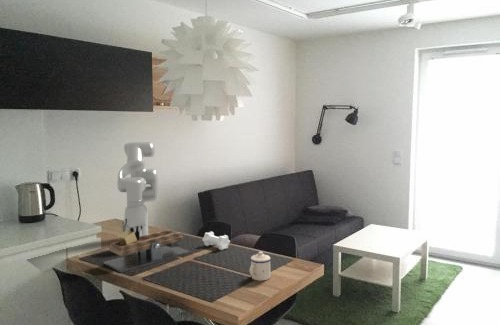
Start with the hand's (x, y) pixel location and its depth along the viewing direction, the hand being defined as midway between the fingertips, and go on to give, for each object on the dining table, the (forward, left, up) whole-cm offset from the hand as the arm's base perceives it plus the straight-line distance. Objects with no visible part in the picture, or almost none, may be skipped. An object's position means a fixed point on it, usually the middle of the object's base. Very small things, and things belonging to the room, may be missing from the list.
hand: (136, 239), depth 205 cm
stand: (0, +7, -11) cm, 13 cm away
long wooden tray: (0, +7, -7) cm, 10 cm away
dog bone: (+11, +43, -12) cm, 46 cm away
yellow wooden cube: (0, -4, -2) cm, 4 cm away
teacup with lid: (+61, +27, -12) cm, 67 cm away
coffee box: (-20, +9, -12) cm, 25 cm away
